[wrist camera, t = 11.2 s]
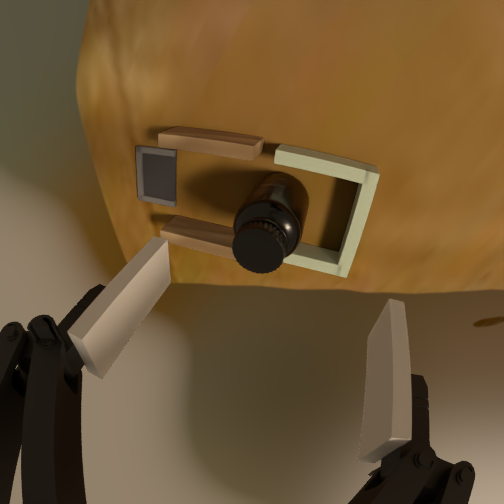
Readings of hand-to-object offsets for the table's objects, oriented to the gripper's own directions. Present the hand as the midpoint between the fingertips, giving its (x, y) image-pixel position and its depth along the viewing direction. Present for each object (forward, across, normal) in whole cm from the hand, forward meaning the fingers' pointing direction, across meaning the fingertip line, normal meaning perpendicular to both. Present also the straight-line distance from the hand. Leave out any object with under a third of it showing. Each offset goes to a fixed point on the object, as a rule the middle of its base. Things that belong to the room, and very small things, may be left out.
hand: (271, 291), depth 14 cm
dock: (+23, +1, -6) cm, 24 cm away
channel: (+23, -12, -6) cm, 26 cm away
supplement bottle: (+23, -3, -6) cm, 24 cm away
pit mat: (+23, -20, -6) cm, 31 cm away
